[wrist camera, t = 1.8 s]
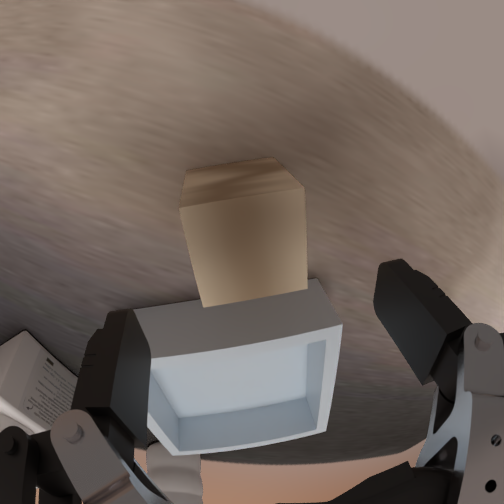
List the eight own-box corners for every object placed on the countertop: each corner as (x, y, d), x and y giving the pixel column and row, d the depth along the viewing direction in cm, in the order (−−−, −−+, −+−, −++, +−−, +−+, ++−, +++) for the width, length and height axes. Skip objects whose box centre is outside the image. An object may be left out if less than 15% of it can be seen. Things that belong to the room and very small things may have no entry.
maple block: (272, 156, 17) (304, 187, 12) (279, 233, 20) (307, 288, 14) (186, 170, 17) (178, 208, 12) (201, 246, 19) (203, 307, 14)
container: (43, 394, 25) (20, 494, 14) (-8, 349, 21) (-49, 452, 10) (83, 380, 24) (61, 501, 13) (26, 327, 20) (-25, 454, 9)
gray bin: (317, 277, 22) (342, 324, 17) (312, 392, 29) (325, 430, 25) (114, 312, 21) (100, 362, 16) (172, 415, 28) (172, 455, 24)
